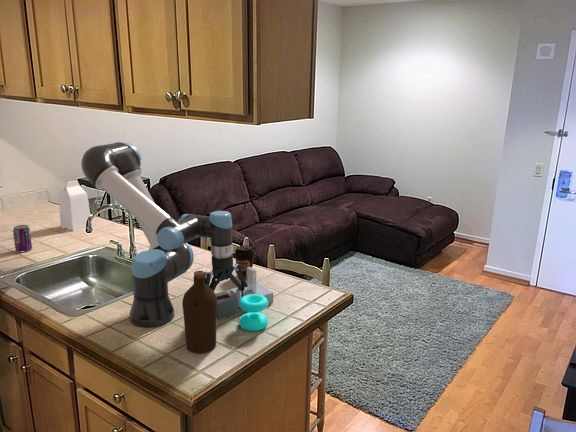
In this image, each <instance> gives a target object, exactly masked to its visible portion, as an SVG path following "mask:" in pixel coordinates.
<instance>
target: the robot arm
mask: <svg viewBox="0 0 576 432" xmlns="http://www.w3.org/2000/svg"><path fill="white" fill-rule="evenodd" d="M141 161H142V156H141V154H140V152H139V149H137V148H136V146H134V145H133V144H131V143H129V142H124V141H121V142H119V141H118V142H113V143H108V144H107V143H106V144H102V145H101V144H100V145H94V146H92V147H90V148H88V149H87V150H86V151H85V152H84V153H83V155H82V158H81V171H82V173H83V175H84V177H85V178H86V179H87V180H88V182H90V183H91V185H92V186H94V188H96V189H97V190H101V191H102V190H103V191H104V192H105V193H107V194H108V195H109V196H110V197H111V198H113V199H114V200H115V201H116V202H117V203H118V204H119V205H120V206H122V207H123V208H124V209H126V210H127V211H128V212H129V213H130V214H132V215H133V216H134V217H135V219H136V221H137V223H138V224H139V226H140V229H141V230H142V232H143V234H144V236H145V237H146V239H147V241H148V243H149V249H147V250H142V251H141V252H138V253H137V254H135V255H134V256H133V258H132V259H131V266H130V267H131V268H130V269H131V270H130V271H131V278H132V279H131V280H132V292H133V294H132V295H133V300H132V305H131V308H130V310H129V322H130V323H132V324H133V325H134V326H137V327H141V328H154V327H160V326H163V325H166V324H167V323H170V322H171V321H172V320H174V317H175V307H174V306H173V303H172V301H171V299H170V295H169V284H168V283H169V282H171V281H173V280H174V279H176V278H178V277H179V276H181V275H183V274H185V273H186V272H187V271H188V270H190V269H191V267H192V265H193V263H194V261H195V260H194V259H195V258H194V257H195V254H194V252H193V249H192V247H191V245H190V244H189V242H190V241H192V240H193V241H194V239H196V238H205V239H210V245H211V246H210V251H211V252H210V253H211V267H212V269H211V271H203V272H204V276H205V284H206V285H207V286H208V287H210V288H211V289H212V290H213V291H214V292H215V290H216V288H217V287H218V285H219V284H220V282H223V281H227V280H230V281H231V282H232V283H233V284H234V285H235V288H238V289H236V298H237V300H238V308H240V306H239V300H240V299H241V298H242V297H243V291H244V290H245V287H247V286H248V285H247V279H246V278H244V276H243V273H242V271H241V265H239V264H237V263H236V262H235V263H234V254H233V253H234V251H233V250H234V249H233V245H234V244H233V220H232V214H231V213H230V212H229V211H226V210H216V211H212V212H210V214H209V216H207V215H199V214H194V213H184V214H182V215H181V216H180V218H178V221H177V220H176V219H174V218H173V217H172V216H170V214H168V213H167V212H166V211H165V210H163V209H162V208H161V207H160V206H159V205H157V204H156V203H155V201H154V199H153V197H152V196H151V194H150V192H149V190H148V188H147V186H146V184H145V183H144V181H143V179H142V177H141V175H142V172H143V170H142V168H141V165H142V162H141ZM234 271H235V273H236V276H237V278H238V279H236V278H235V277H236V276H234V274H233V272H234Z"/></svg>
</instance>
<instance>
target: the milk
mask: <svg viewBox="0 0 576 432" xmlns="http://www.w3.org/2000/svg"><path fill="white" fill-rule="evenodd" d="M58 203H59V205H58V206H59V220H60V221H59V222H60V224H59V225H60V228H61V227H64V228H67V229H70V230H73V231H72V232H75V231H74V230H77V229H80V230H82V229H81V228H84V229H86V228H85V225H86V221H87V219H88V217H89V215H91V209H90V208H91V207H90V203H89V197H88V193H87V192H86V191H85V190H84V189H83V187H82V186H81V185H80V183H79V180H70V181H66V183H65V185H64V188H63V189H62V190H61V191H60V193H59V195H58ZM67 229H66V230H67ZM70 230H69V231H70ZM77 231H78V230H77Z"/></svg>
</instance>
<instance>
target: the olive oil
mask: <svg viewBox="0 0 576 432" xmlns="http://www.w3.org/2000/svg"><path fill="white" fill-rule="evenodd" d="M204 272H205V271H203V270H195V271H194V272H193V276H192V278H193V283H192V285H191V286H190V287H189V288H188V289H187V290H186V291H185V293H184V295H183V298H182V303H181V304H182V313H183V323H184V336H185V348H186V350H187V351H188V352H191V353H194V354H205V353H209V352H211V351H213V350H214V349H215V348H216V347H217V320H218V319H217V297H216V293H215V290H214V291H213V290H212V289H211V288H210V287H208V286H207V285H206V284H205V276H204Z"/></svg>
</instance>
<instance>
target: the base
mask: <svg viewBox="0 0 576 432" xmlns="http://www.w3.org/2000/svg"><path fill="white" fill-rule="evenodd" d="M236 289H238V288H237V287H233V288H230V289H229V293H230V294H232V295H233V296H235V297H236ZM249 294H258V295H262V296H264V297H266V298H267V300H268V305H270V304H272V303H274V292H273V291H272V290H270V289H268V288H266V287H264V285H261V284H259V283H258V282H256V293H251V292H250V291H248V290H247V287H245V290H244V291H243V296H245V295H249Z"/></svg>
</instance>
